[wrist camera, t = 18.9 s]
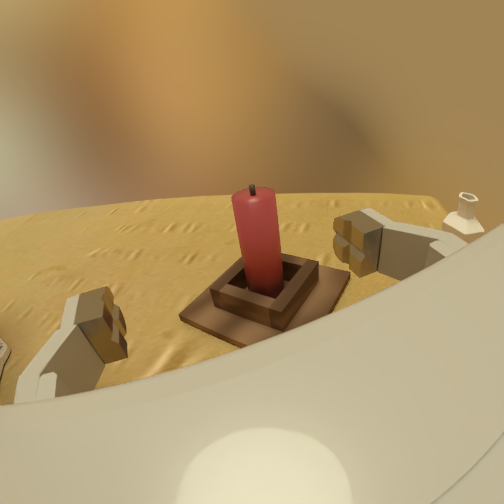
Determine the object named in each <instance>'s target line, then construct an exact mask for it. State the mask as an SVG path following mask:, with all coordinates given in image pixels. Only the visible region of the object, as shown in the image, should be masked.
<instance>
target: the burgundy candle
mask: <svg viewBox="0 0 504 504" xmlns="http://www.w3.org/2000/svg"><path fill="white" fill-rule="evenodd" d="M231 199H232V204H233V210H234V216H235V221H236V227H237V232H238V238H239V243H240V248H241V254H242V259H243V265H244V270H245V275H246V281H247V286H248V291H251V292H254V293H258V294H261V295H264V296H267V297H271V298H274V299H276V298H277V297H278V296H279V294H280V293H281V292H282V291H283V289H284V288H285V286H284V276H283V265H282V255H281V245H280V235H279V225H278V216H277V207H276V198H275V192H274V190H273V189H271V188H267V187H255V185H249V188H248V189H243V190H241V191H238V192H236V193H235V194H233V196H232V197H231Z"/></svg>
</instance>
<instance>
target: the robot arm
mask: <svg viewBox="0 0 504 504" xmlns="http://www.w3.org/2000/svg"><path fill="white" fill-rule="evenodd" d="M333 229H334V230H335V232H336V235H335V237H334V239H333V248H334V252H335V254H336V256H337V258H338V259H339V260H340V261H341V262H343V263H347V264H349V269H350V270H351V271H352V272H354V273H355V274H356V275H357V276H358V277H359V278H361V277H363V276H366V275H368V274H371V273H374V272H376V271H378V272H379V273H382V274H384V275H387V276H389V277H392V278H395V279H397V280H400V282H398V283H396V284H394V285H392V286H390V287H388V288H386V289H384V290H381V291H379V292H377V293H375V294H373V295H371V296H369V297H367V298H364V299H362V300H360V301H358V302H356V303H353V304H351V305H349V306H347V307H344V308H342V309H340V310H338V311H335V312H333V313H331V314H328V315H326V316H324V317H321V318H319V319H317V320H314V321H312V322H309V323H307V324H304V325H302V326H300V327H297V328H295V329H292V330H289V331H287V332H284V333H282V334H279V335H276V336H274V337H271V338H268V339H266V340H263V341H260V342H258V343H255V344H252V345H249V346H246V347H244V348H241V349H238V350H235V351H232V352H229V353H226V354H223V355H220V356H217V357H214V358H211V359H208V360H205V361H201V362H198V363H195V364H192V365H188V366H185V367H182V368H178V369H175V370H171V371H168V372H164V373H161V374H157V375H154V376H150V377H146V378H142V379H138V380H135V381H131V382H127V383H123V384H118V385H114V386H110V387H105V388H101V389H96V390H94V388H95V386H96V384H97V382H98V380H99V378H100V376H101V374H102V372H103V370H104V368H105V364H108V363H111V362H115V361H118V360H122V359H125V358H128V354H127V342H126V340H125V339H124V336H125V335H126V324H125V320H124V317H123V314H122V312H121V310H120V308H119V306H117V305H115V304H113V301H114V296H113V294H112V292H111V290H110V288H108V287H107V286H106V287H102V288H99V289H95V290H92V291H88V292H85V293H82V294H78V295H75V296H72V297H69V298H68V299H67V300H66V305H65V309H64V313H63V317H62V322H61V326H60V329H59V330H56V331H55V332H54V334H53V335H52V336H51V337H50V338H49V340H48V341H47V342H46V343H45V345H44V346H43V347H42V348H41V349H40V351H39V352H38V353H37V355H36V356H35V357H34V358H33V360H32V361H31V362H30V363H29V365H28V366H27V367H26V369H25V370H24V371H23V373H22V374H21V375H20V377H19V378H18V382H17V387H16V393H15V398H14V404H8V405H0V504H504V223H502V224H501V225H499V226H498V227H496V228H494V229H493V230H491V231H490V232H488V233H486V234H485V235H483V236H481V237H480V238H478V239H477V240H475V241H473V242H471V243H470V244H468V243H467V242H465V241H463V240H462V239H460V238H459V237H457V236H456V235H454V234H452V233H450V232H445V231H440V230H436V229H431V228H426V227H421V226H416V225H411V224H406V223H400V222H397V223H395V222H393V221H391V220H390V219H388V218H386V217H385V216H383V215H381V214H380V213H378V212H376V211H375V210H373V209H371V208H364V209H361V210H358V211H355V212H352V213H349V214H346V215H343V216H340V217H337V218H335V219H334V222H333ZM10 351H11V349H10V348H9V347H8V345H7V344H6V343H5V342H4V341H3V340H2V339H1V338H0V377H1V373H2V369H3V365H4V363H5V361H6V360H7V358H8V356H9V354H10Z"/></svg>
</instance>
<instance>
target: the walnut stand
mask: <svg viewBox="0 0 504 504" xmlns="http://www.w3.org/2000/svg"><path fill="white" fill-rule="evenodd" d="M281 255H282V265H283V276H284V286H285V288H284V289H283V291H282V292H281V293H280V294H279V296H278V297H277V298H276V299H274V298H271V297H267V296H264V295H261V294H258V293H254V292H251V291H248V286H247V281H246V275H245V270H244V265H243V259H242V257H241V258H240V259H238V260H237V261H236V262H235V263H234V264H233V265H232V266H231V267H230V268H229V269H228V270H226V271H225V272H224V273H223V274H222V275H221V276H220V277H219V278H218V279H217V280H216V281H214V282H213V283H212V284H211V285H210V286H209V287H208V288H207V289H206V290H205V291H204V292H203V293H201V294H200V295H199V296H198V297H197V298H196V299H195V300H194V301H193V302H192V303H191V304H189V305H188V306H187V307H186V308H185V309H184V310H183V311H182V312H181V313H180V314H179V317H180V319H181V320H182V321H184V322H186V323H188V324H190V325H192V326H194V327H196V328H198V329H200V330H202V331H205V332H207V333H209V334H211V335H213V336H215V337H218V338H220V339H222V340H224V341H226V342H229V343H231V344H233V345H236V346H238V347H240V348H244V347H246V346H249V345H252V344H255V343H258V342H260V341H263V340H266V339H268V338H271V337H274V336H276V335H279V334H282V333H284V332H287V331H289V330H292V329H295V328H297V327H300V326H302V325H304V324H307V323H309V322H312V321H314V320H317V319H319V318H321V317H324V316H326V315H328V314H331V312H332V311H333V309H334V307H335V305H336V303H337V302H338V300H339V298H340V296H341V294H342V292H343V291H344V289H345V287H346V285H347V283H348V281H349V279H350V272H348V271H343V270H339V269H335V268H330V267H326V266H322V265H319V261H314V260H310V259H305V258H301V257H296V256H292V255H287V254H283V253H281Z"/></svg>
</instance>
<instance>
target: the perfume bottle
mask: <svg viewBox="0 0 504 504" xmlns="http://www.w3.org/2000/svg"><path fill="white" fill-rule="evenodd" d="M459 198H460V199H459V206H458V211H456V212H450V213H449V214H448V216H447V217H446V218H445V219H444V220H443V228H442V231H445V232H450V233H452V234H454V235H456V236H457V237H459V238H460V239H462V240H463V241H465V242H467V243H468V244H470V243H471V242H473V241H475V240H477V239H478V238H480V237H481V236H483V234H484V229H483V228H482V226H481V225H480V223H479V222H478V221H477V219H476V218H475V217H474V215H475V210H476V204H477V202H478V199H477V197H476V196H474V195H473V194H469V193H464V192H461V193H460V194H459Z"/></svg>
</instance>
